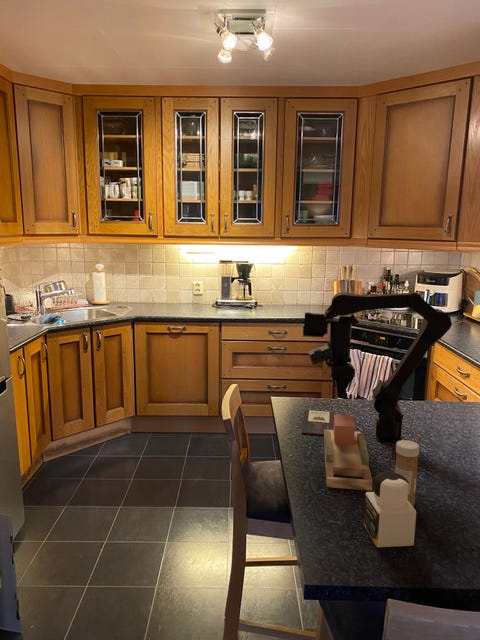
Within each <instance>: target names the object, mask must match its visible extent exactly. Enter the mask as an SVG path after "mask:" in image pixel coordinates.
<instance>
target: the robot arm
mask: <svg viewBox="0 0 480 640" xmlns="http://www.w3.org/2000/svg"><path fill="white" fill-rule="evenodd" d="M330 303H331V304H330V306H328V308H327V309H325V312H324V313H317V312H316V313H315V312H314V313H313V312H311V311H310V312H309V311H307V312H306V311H305V312H304V321H303V325H302V327H303V328H302V337H305V338H306V337H309V338H324V336H326V335H328V329H330V330H329V339H328V340H327V345H323V346H320V347H316V348H313V349H310V350H308V351H307V353H308V357H309V358H310V361H311V363H312V365H313V366H314V365H318V364H319V363H323V362H325V364H326V366H328V368H329V375H330V377H331V379H332V385H333V388H335V389H336V397H337V398H338V399H342V398H343V397H344V395H345V393H346V391H347V389H348V387H349V386H350V383H351V382H352V380H354V378H356V369H355V367H354V366H353V364H351V363H352V358H351V349H352V346H353V345H352V325H353V324H354V325H355V324H356V325H357V324H359V323H360V321H359V319H358V318H357V317H356V316H355V315H354V314H357V313H360V312H363V311H369V310H370V311H371V310H372V311H373V310H390V309H391V310H392V309H406V308H407V309H408V308H410V309H412V310H414V311H415V312H416V313H418V314H419V316H421V317H422V320H421V323H420V325H419V329H418V332H417V335H416V337H415V339H414V340H413V342H412V343H411V345H410V347H409V348H408V349H407V351H406V352H405V354H404V355H403V357H402V358H401V360H400V361H399V363H398V364H397V365H396V367H395V369H394V370H393V371H392V373H391V375H390V376H389V377H388V378H387V379H386V380H385V381H383V380H381V379H379V380H378V382H377V384H376V386H375V387H374V388H373V389H371V391H372V394H371V399H372V404H373V407H374V410H375V411H376V412H377V417H376V419H375V420H374V435H375V436H376V439H377V441H378V442H388V443H389V442H390V443H397V442H398V441H401V440H403V439H402V430H403V419H404V415H403V412H402V410H401V408H400V407H401V406H400V405H399V404H398V403H399V400H400V397H401V394H402V391H403V389H404V386H405V384H406V383H407V382H408V380H409V379H410V378H411V376H412V375H413V373H414V372H415V370H416V369H417V368H418V366H419V364H420V363H421V361H422V360H423V358H424V357H425V355H426V354H427V352H428V351H429V349H431V347H432V345H434V344H435V343H437V342H438V341H440V340H441V339H442V338H443V337H444V336H445V335H446V334H447V333H448V332H449V331H450V330H451V328H452V324H453V322H452V318H451V317H450V315H449V314H447V313H446V312H445V311H443V310H441V309H439V308H434V307H433V306H432V305H431V304H430V303H428V302H427V301H426V300H425V299H424V298H422V296H421V295H420V294H419V293H418V292H416V291H409V292H398V293H396V292H395V293H384V294H383V293H382V294H381V293H380V294H366V295H365V294H358V293H354V292H353V293H352V292H345V291H340V292H337V293H336V294H334V295H333V297H332V298H331V302H330ZM337 317H338V318H337ZM329 324H330V325H329ZM329 326H330V328H329Z"/></svg>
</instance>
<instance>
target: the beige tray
mask: <svg viewBox="0 0 480 640" xmlns="http://www.w3.org/2000/svg"><path fill="white" fill-rule="evenodd" d="M323 447H324V459H325V460H324V462H325V464H324V465H325V480H326V481H325V482H326V488H333V489H334V488H336V489H346V490H347V489H348V490H358V491H359V490H360V491H368V492H373V487H374V485H373V483H374V482H373V478H372V474H371V470H370V465H369V463H370V456H369V452H368V448H367V444H366V441H365V437H364V433H361V431H356V430H355V435H354V445H347V444H335V443H334V434H333V430H325V429H324V436H323ZM334 475H335V477H334ZM338 476H347V477H338ZM350 477H360V478H350ZM361 478H362V479H361Z"/></svg>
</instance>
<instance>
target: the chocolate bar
mask: <svg viewBox="0 0 480 640" xmlns="http://www.w3.org/2000/svg"><path fill="white" fill-rule="evenodd" d="M334 414H335V412H333V411H322V410H321V411H320V410H310V409H307V410H306V409H305V410H304V414H303V422H302V428H301V435H308V436H316V437H317V436H318V437H324V429H325V430H333V426H334Z"/></svg>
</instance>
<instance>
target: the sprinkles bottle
mask: <svg viewBox="0 0 480 640" xmlns="http://www.w3.org/2000/svg"><path fill="white" fill-rule="evenodd" d="M395 443H396V444H395V454H396V459H395V466H394V473H398V474H400V475H402V476H404V477H405V478H406V479H407V480H408V482H409V487H408V501H409V503H410V504H411V505H412V506H413V507H414V506H415V505H416V501H415V500H416V490H417V476H418V475H417V474H418V473H417V472H418V470H417V469H418V459H419V458H418V457H419V454H420V445H419V444H418V443H417V442H415V441H412V440H408V439H402V440H401V441H398V442H395Z"/></svg>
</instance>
